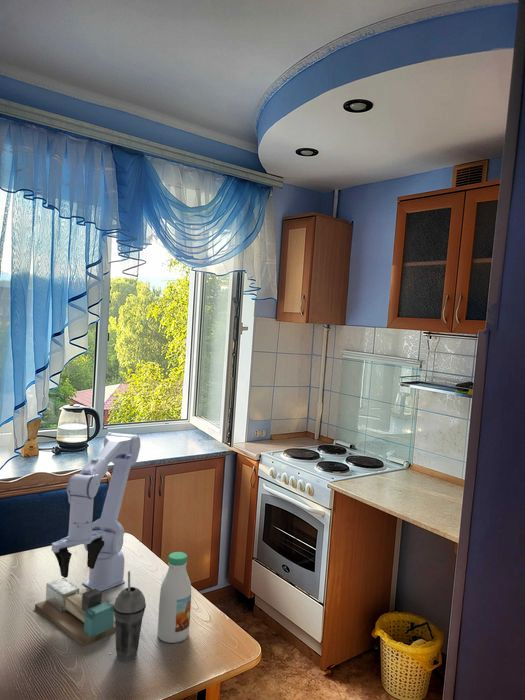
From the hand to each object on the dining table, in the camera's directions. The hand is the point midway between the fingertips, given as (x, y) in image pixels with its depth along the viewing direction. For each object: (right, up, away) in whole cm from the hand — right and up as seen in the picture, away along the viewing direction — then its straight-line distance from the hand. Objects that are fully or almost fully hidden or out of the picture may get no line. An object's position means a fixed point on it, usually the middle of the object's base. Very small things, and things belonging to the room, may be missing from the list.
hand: (77, 571), depth 136 cm
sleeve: (-5, -9, +1) cm, 10 cm away
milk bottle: (+26, -13, -8) cm, 30 cm away
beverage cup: (+17, -12, -17) cm, 27 cm away
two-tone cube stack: (+4, -9, -6) cm, 11 cm away
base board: (+1, -11, -3) cm, 11 cm away
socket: (+8, -10, -10) cm, 16 cm away
